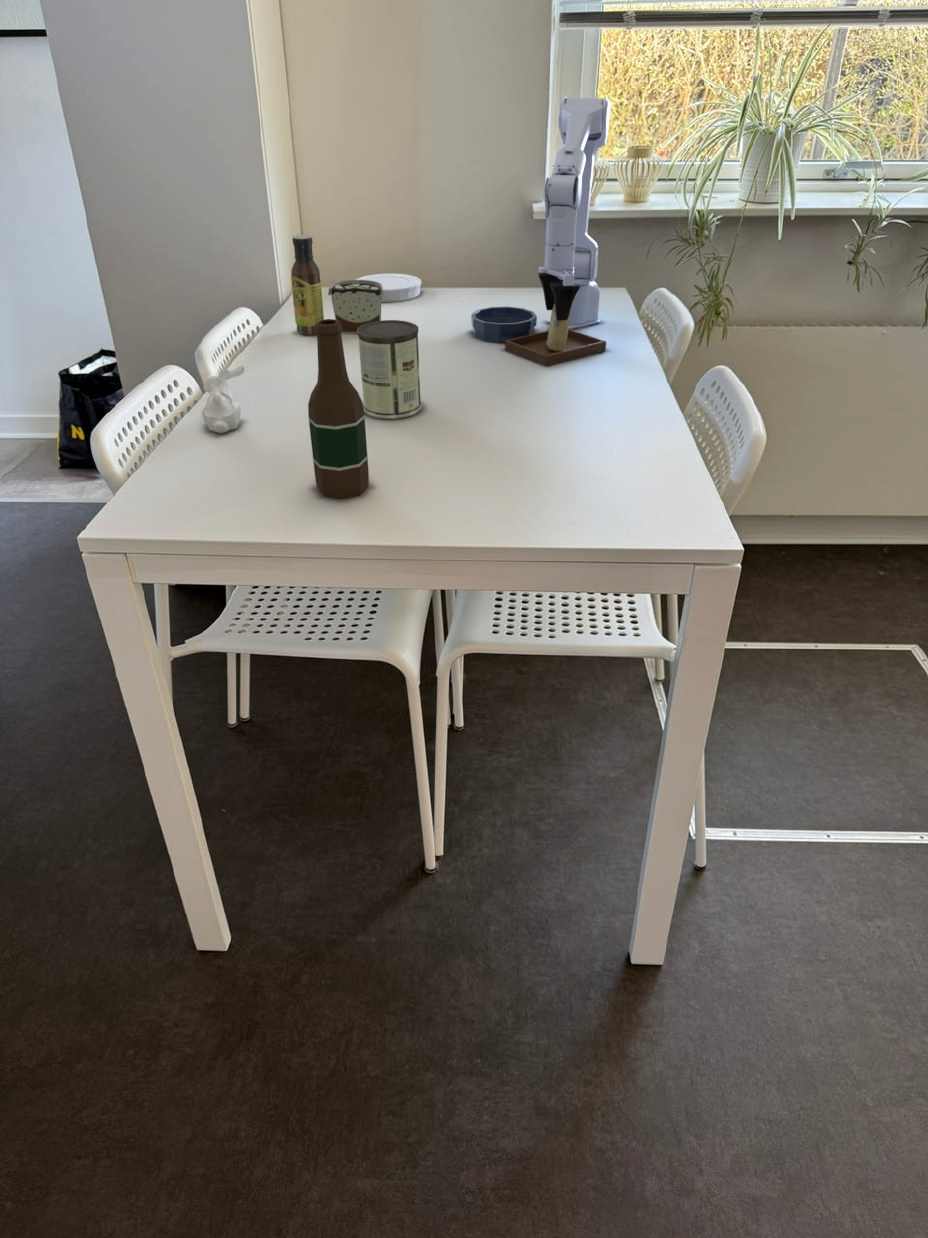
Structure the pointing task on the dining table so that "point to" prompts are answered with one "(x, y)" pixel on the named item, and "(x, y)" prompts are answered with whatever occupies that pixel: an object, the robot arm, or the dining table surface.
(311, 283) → the sauce bottle
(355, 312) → the food container
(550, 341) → the beige tall upright piece
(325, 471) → the beer bottle
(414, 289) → the lid
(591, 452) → the dining table surface
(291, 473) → the dining table surface
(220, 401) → the rabbit figurine
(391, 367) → the coffee can
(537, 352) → the tray
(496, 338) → the bowl
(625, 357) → the dining table surface
